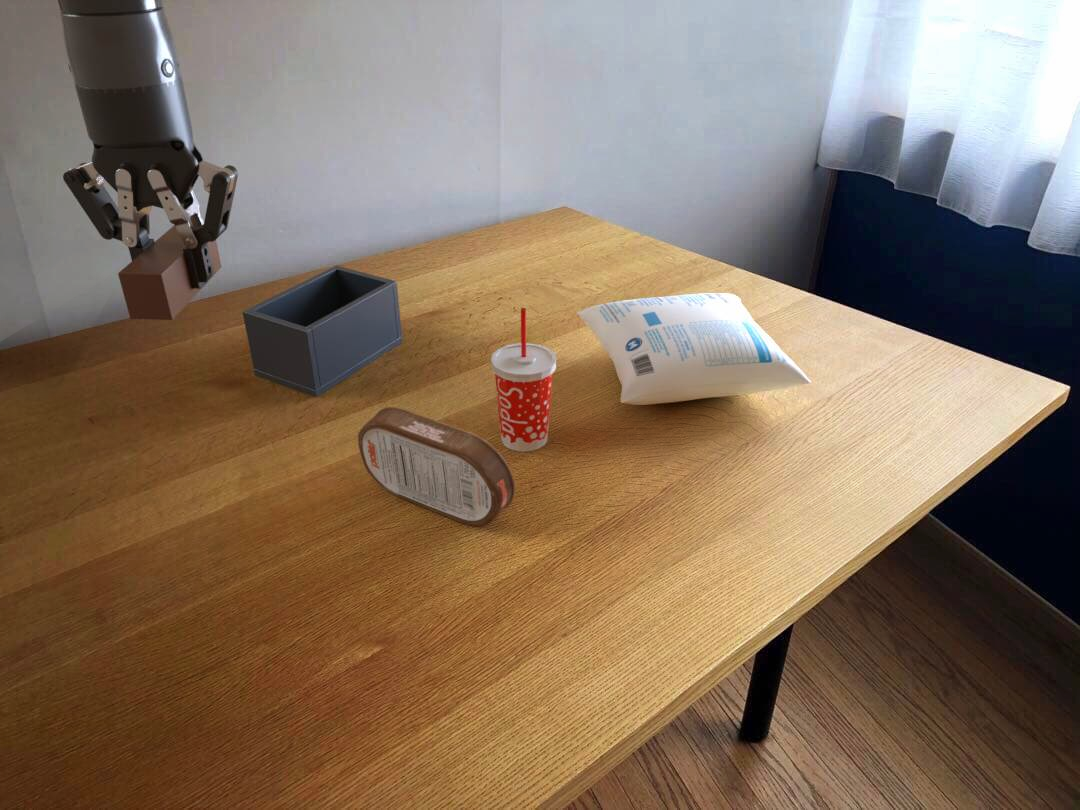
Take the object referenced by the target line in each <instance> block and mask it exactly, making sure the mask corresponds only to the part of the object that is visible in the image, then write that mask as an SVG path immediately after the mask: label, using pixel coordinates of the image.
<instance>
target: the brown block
mask: <svg viewBox="0 0 1080 810" xmlns="http://www.w3.org/2000/svg"><path fill="white" fill-rule="evenodd" d="M185 247H186V246H184V244H183V242H182V240H181V238H180V235H179V233H178V231H177V229H176V227H175V225H174V224H173V226H171V227H170V228H169V229H168V230H167V231H165V232H164V233H163V234H162V235H161V236H159V238H157V240H154V243H153V244H152V245H151V246H150V247H148V248H147V249H146V250H145V251H144V252H142V253H141V254H140V255H139V256H138V257H136V258H135V259H134V260H133V261H132V260H131V261H130V262H129V263H128V264H127V265H126V266H124V268H122V269H121V270H120V271H119V272H117V276H118V279H119V283H120V286H121V290H122V293H123V297H124V301H125V304H126V308H127V311H128V315H129V319H130V320H158V321H159V320H160V321H161V320H162V321H173V320H174V319H175V318H176V316H178V315H179V314H180V312H182V311H183V310H184V308H185V307H186V306H187V305H188V304H189V303H190V302H191V301H192V299H193V298H194V297H195V296H196V295H197V294H198V293H199V292H200V291H201V290H202V289H193V288H192V286H191V282H190V278H189V273H188V269H187V264H186V260H185V256H184V253H183V249H184V248H185ZM208 247H209V252H210V257H211V261H212V266H213V275H212V277H211V278H210V279H209V280H208V282H209V281H211V280H212V278H213V277H214V276H215V275H216V274H217V273H218V271H220V269H221V268H222V262H221V257H220V252H219V247H218V242H217V239H216V240H215V241H213V242H208Z"/></svg>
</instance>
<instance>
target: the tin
mask: <svg viewBox="0 0 1080 810" xmlns="http://www.w3.org/2000/svg"><path fill="white" fill-rule="evenodd" d="M357 435H358V436H357V441H358V449H359V453H360V456H361V459H362V463H363V466H364V468H365V470H366V471H367V472H368V474H369V475H370V476H371V477H372V479H373V480H374V481H375V482H376V483H377V484H378V485H379V486H381V488H383V489H384V490H385V491H387V492H388V493H390V494H391V495H393V496H395V497H398V498H400V499H402V500H405V501H407V502H410V503H412V504H415V505H417V506H419V507H422V508H424V509H426V510H429V511H431V512H434V513H437V514H439V515H441V516H444V517H446V518H448V519H451V520H453V521H456V522H458V523H461V524H464V525H468V526H472V527H480V526H484V525H487V524H490V523H491V522H492V521H493V520H495V519H496V518H497V517H498V516H499V515H500V514H501V513H502V512H503V510H505V509H506V508H508V507H509V506H510V504H511V503H512V502H513V501H514V497H515V491H516V485H515V484H516V483H515V479H514V476H513V472H512V470H511V468H510V466H509V464H508V463H507V461H506V460H505V458H504V456H503V455H502V454H501V453H500V452H499V451H498V450H497V449H496V448H495V447H494V446H493V445H492V444H491V443H490V442H488V441H487V440H486V439H484V438H483V437H481V436H479V435H477V434H476V433H473V432H470V431H469V430H465V429H461V428H459V427H456V426H454V425H451V424H448V423H445V422H442V421H438V420H436V419H434V418H431V417H429V416H425V415H422V414H419V413H416V412H414V411H411V410H408V409H406V408H402V407H399V406H386V407H383V408H381V409H380V410H378V411H377V412H376V413H375V415H374V416H373V417H372V418H371V419H368V421H367V422H366V423H365V424H364V425H363V426H362V427H361V428H360V430H359V432H358V434H357Z"/></svg>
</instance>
